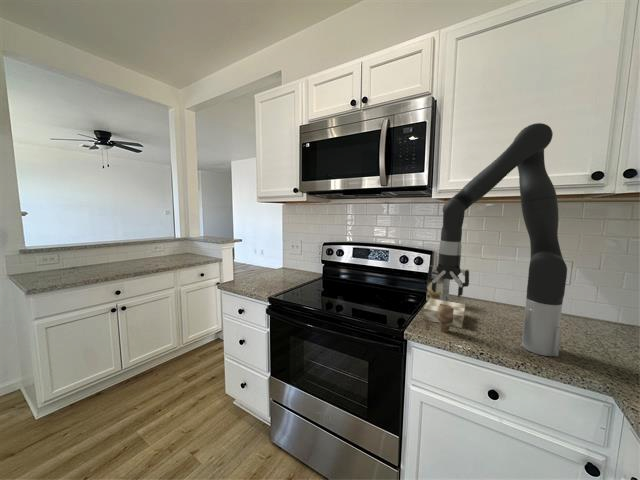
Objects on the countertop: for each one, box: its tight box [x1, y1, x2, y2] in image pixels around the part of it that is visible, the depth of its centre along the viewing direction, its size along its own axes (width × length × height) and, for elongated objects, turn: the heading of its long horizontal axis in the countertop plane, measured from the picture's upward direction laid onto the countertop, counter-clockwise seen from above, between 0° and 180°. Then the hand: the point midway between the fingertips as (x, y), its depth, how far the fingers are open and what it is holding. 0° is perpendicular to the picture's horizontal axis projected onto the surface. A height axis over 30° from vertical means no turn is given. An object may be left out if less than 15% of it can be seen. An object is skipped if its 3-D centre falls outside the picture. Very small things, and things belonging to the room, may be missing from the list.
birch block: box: [422, 298, 466, 329], centre depth 116 cm, size 15×16×5 cm
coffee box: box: [425, 269, 451, 302], centre depth 135 cm, size 9×6×16 cm
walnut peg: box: [438, 305, 454, 334], centre depth 102 cm, size 5×5×10 cm
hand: (446, 294), depth 101 cm, fingers open, 8 cm apart
